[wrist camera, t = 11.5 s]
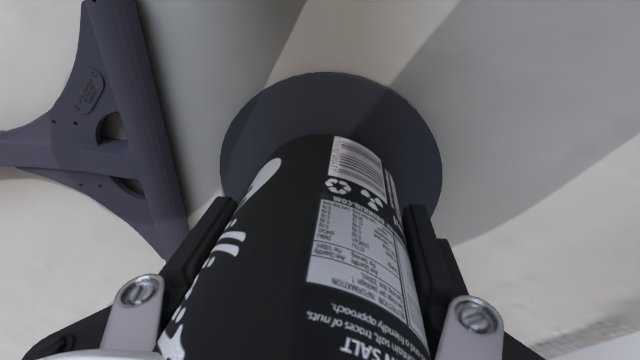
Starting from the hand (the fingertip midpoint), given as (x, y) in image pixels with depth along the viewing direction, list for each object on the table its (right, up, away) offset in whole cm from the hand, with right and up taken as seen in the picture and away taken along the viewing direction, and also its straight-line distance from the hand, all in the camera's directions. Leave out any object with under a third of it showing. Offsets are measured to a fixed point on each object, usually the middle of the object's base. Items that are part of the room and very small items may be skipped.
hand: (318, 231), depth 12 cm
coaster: (0, +2, +3) cm, 4 cm away
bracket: (-14, +4, +4) cm, 16 cm away
